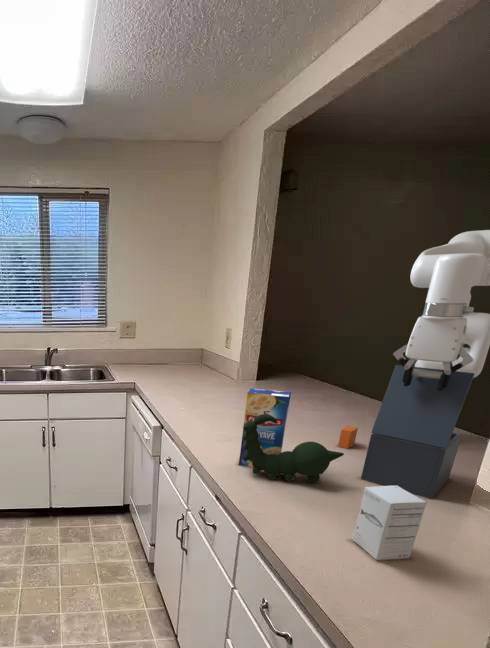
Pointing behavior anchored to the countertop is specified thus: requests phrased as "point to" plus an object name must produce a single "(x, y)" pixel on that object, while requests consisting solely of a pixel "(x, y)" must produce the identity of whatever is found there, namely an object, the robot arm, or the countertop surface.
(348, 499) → the countertop surface
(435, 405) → the box lid
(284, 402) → the blue food box
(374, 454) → the trash can
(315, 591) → the countertop surface
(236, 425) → the countertop surface
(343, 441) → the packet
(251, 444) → the toy figurine
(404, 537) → the white packaging box
